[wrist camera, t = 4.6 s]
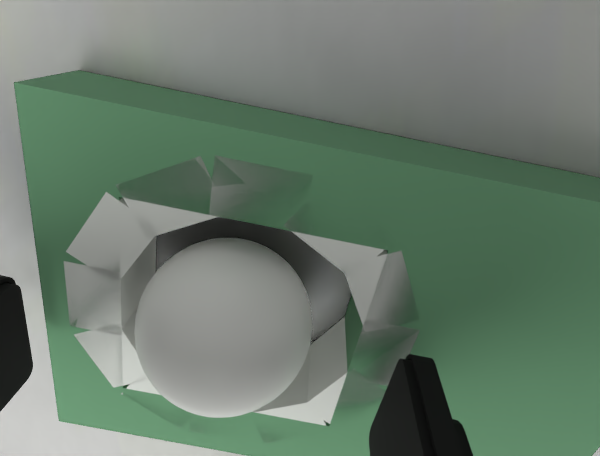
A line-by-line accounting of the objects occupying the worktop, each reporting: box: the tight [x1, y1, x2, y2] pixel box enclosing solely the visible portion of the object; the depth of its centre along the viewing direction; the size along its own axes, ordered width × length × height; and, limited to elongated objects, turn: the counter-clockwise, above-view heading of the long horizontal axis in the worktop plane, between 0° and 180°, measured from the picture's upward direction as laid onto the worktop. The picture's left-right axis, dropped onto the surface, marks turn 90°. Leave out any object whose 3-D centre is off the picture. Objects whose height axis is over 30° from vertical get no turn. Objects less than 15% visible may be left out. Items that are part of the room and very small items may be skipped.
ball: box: [134, 238, 312, 418], centre depth 11 cm, size 5×5×5 cm
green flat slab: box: [14, 70, 600, 456], centre depth 12 cm, size 17×11×2 cm, turn 79°
